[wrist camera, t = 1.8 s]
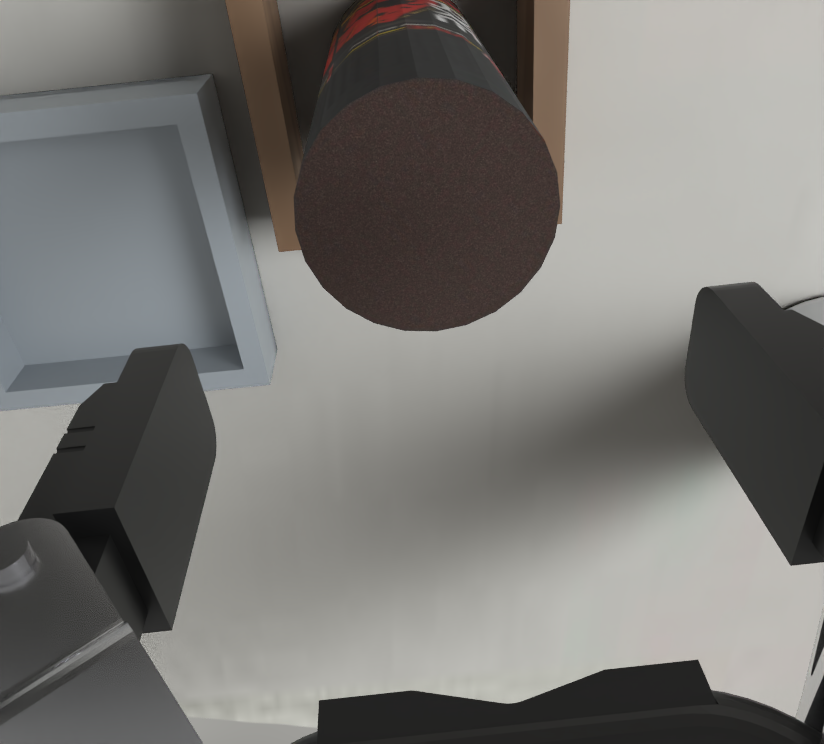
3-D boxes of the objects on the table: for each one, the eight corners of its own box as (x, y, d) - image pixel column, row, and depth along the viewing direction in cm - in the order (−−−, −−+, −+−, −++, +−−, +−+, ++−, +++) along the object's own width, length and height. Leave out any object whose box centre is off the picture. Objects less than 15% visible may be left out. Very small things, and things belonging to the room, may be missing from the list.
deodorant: (494, -1, 27) (597, 105, 15) (460, 153, 30) (519, 346, 18) (338, -33, 26) (306, 51, 14) (320, 129, 29) (282, 314, 17)
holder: (551, -123, 25) (574, -123, 22) (544, 191, 31) (561, 223, 28) (226, -88, 25) (207, -84, 22) (287, 217, 31) (279, 251, 29)
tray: (212, 74, 28) (196, 92, 25) (277, 349, 35) (270, 384, 33) (-114, 107, 28) (-161, 130, 26) (19, 374, 35) (-7, 411, 33)
